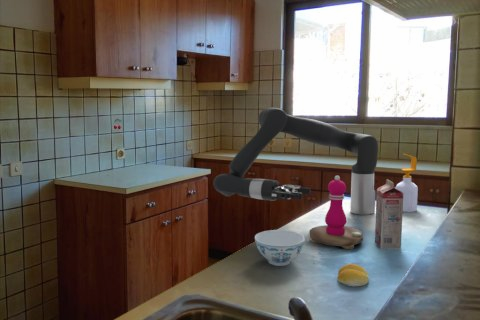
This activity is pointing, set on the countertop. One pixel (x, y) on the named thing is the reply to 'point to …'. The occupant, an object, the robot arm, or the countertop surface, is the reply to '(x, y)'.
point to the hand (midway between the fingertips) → (306, 193)
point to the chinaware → (279, 245)
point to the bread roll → (353, 275)
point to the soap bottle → (409, 188)
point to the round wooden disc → (336, 237)
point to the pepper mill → (336, 208)
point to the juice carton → (388, 217)
